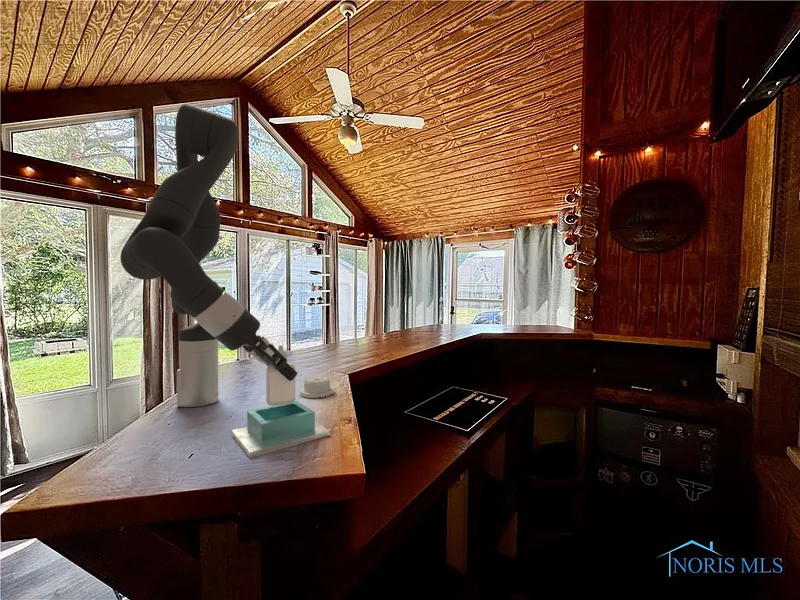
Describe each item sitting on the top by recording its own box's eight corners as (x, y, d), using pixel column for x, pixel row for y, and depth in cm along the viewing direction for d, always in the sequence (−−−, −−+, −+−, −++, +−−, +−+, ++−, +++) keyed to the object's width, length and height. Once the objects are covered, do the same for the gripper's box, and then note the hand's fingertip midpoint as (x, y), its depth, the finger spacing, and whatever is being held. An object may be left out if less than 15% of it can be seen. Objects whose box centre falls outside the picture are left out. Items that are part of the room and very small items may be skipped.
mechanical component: (293, 398, 98) (326, 400, 96) (293, 382, 98) (326, 384, 96) (308, 388, 108) (338, 390, 106) (308, 374, 108) (338, 376, 106)
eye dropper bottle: (291, 405, 69) (291, 346, 69) (263, 406, 69) (263, 347, 69) (297, 399, 74) (297, 343, 74) (270, 399, 74) (270, 344, 73)
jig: (249, 458, 62) (249, 430, 62) (231, 435, 72) (231, 411, 72) (330, 435, 72) (330, 411, 72) (304, 417, 82) (304, 397, 82)
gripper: (253, 307, 61) (316, 366, 69) (233, 305, 72) (289, 357, 80) (220, 339, 58) (290, 397, 66) (204, 332, 69) (266, 383, 77)
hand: (289, 375), depth 73 cm, fingers closed on eye dropper bottle, 3 cm apart
